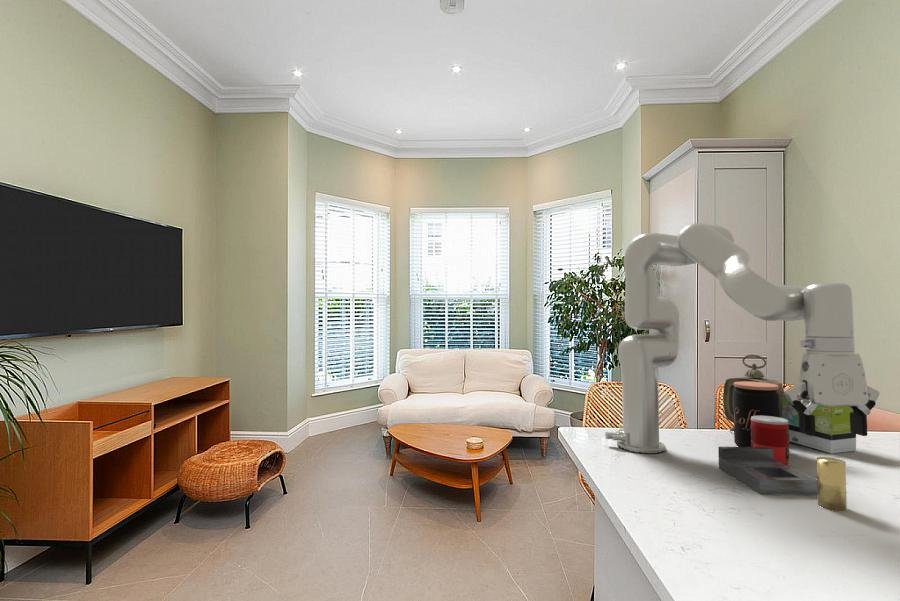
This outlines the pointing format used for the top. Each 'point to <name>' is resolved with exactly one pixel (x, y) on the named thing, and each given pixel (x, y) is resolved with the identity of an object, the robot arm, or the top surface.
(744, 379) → the tabletop clock
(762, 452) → the frame
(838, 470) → the pale yellow cylinder
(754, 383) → the coffee jar
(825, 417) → the tea box
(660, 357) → the robot arm
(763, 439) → the canned food
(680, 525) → the top surface
